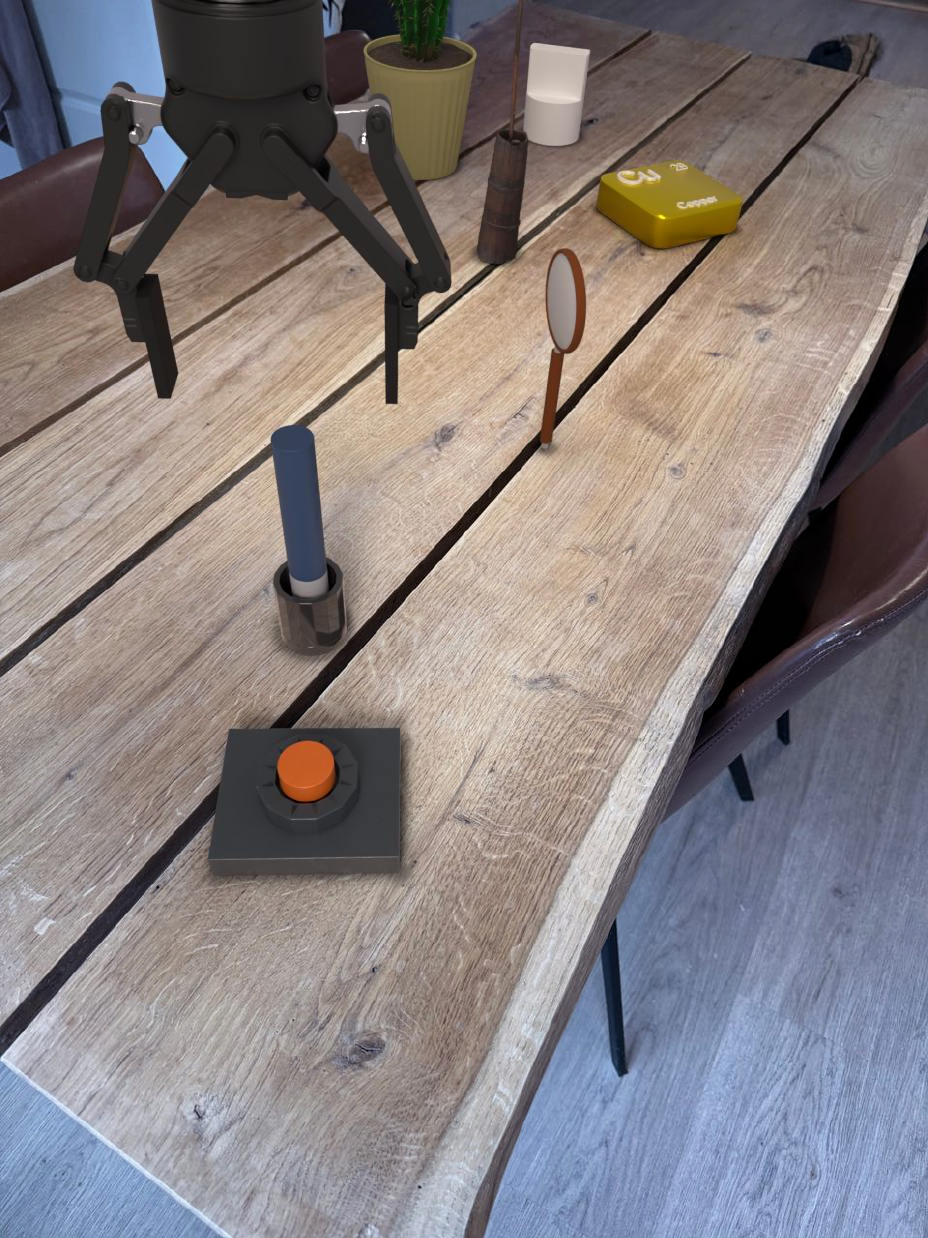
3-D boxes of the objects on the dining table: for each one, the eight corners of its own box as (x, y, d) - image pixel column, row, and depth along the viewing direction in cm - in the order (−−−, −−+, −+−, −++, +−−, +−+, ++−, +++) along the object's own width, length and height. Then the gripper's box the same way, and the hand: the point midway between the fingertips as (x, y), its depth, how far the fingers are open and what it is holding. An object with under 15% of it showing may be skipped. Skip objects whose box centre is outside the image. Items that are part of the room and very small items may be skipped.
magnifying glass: (524, 423, 92) (546, 230, 78) (540, 422, 93) (566, 229, 78) (548, 476, 87) (577, 279, 72) (565, 474, 87) (597, 278, 72)
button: (277, 802, 58) (274, 788, 57) (282, 755, 60) (280, 740, 59) (334, 802, 58) (332, 787, 57) (337, 754, 61) (335, 740, 59)
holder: (278, 655, 71) (269, 603, 66) (284, 606, 74) (276, 554, 70) (345, 655, 71) (341, 603, 67) (348, 606, 74) (344, 554, 70)
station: (213, 876, 58) (202, 846, 55) (233, 746, 65) (224, 713, 62) (399, 873, 59) (398, 843, 56) (400, 744, 66) (400, 712, 63)
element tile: (654, 252, 119) (662, 216, 115) (590, 206, 127) (595, 170, 124) (741, 231, 124) (751, 195, 121) (674, 188, 133) (681, 153, 129)
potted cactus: (485, 154, 138) (500, -92, 115) (448, 194, 128) (456, -68, 106) (393, 136, 141) (389, -108, 119) (349, 173, 131) (337, -85, 109)
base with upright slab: (582, 128, 147) (593, 43, 138) (574, 148, 141) (585, 62, 132) (528, 120, 148) (535, 36, 139) (517, 141, 142) (524, 54, 133)
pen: (294, 635, 71) (268, 450, 57) (297, 609, 73) (272, 424, 59) (330, 635, 71) (312, 451, 58) (332, 609, 73) (315, 424, 59)
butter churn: (531, 281, 112) (559, 19, 91) (456, 271, 113) (467, 9, 92) (540, 247, 118) (568, -6, 97) (468, 238, 119) (481, -14, 98)
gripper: (-90, -17, 37) (56, 420, 52) (523, 16, 38) (486, 429, 54) (-30, -62, 42) (87, 349, 57) (510, -31, 43) (479, 360, 59)
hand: (281, 389), depth 56 cm, fingers open, 13 cm apart
